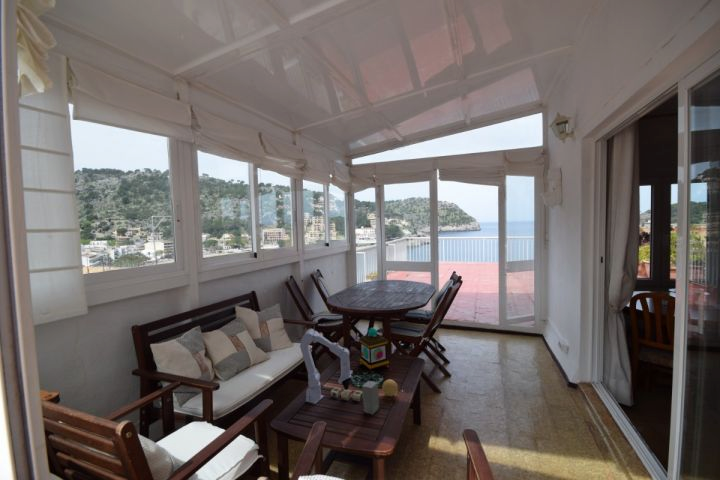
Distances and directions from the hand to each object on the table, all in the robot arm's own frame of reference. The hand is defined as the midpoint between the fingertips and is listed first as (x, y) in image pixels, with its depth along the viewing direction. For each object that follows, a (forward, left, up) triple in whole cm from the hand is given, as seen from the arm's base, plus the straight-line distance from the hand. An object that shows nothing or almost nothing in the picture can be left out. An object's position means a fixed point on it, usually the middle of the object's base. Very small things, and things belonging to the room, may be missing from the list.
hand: (346, 389), depth 201 cm
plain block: (0, 0, -6) cm, 6 cm away
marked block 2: (+2, -7, -6) cm, 9 cm away
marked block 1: (0, +7, -6) cm, 9 cm away
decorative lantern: (+46, +3, -6) cm, 46 cm away
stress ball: (+14, -24, -6) cm, 29 cm away
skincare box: (-5, -20, -6) cm, 21 cm away
